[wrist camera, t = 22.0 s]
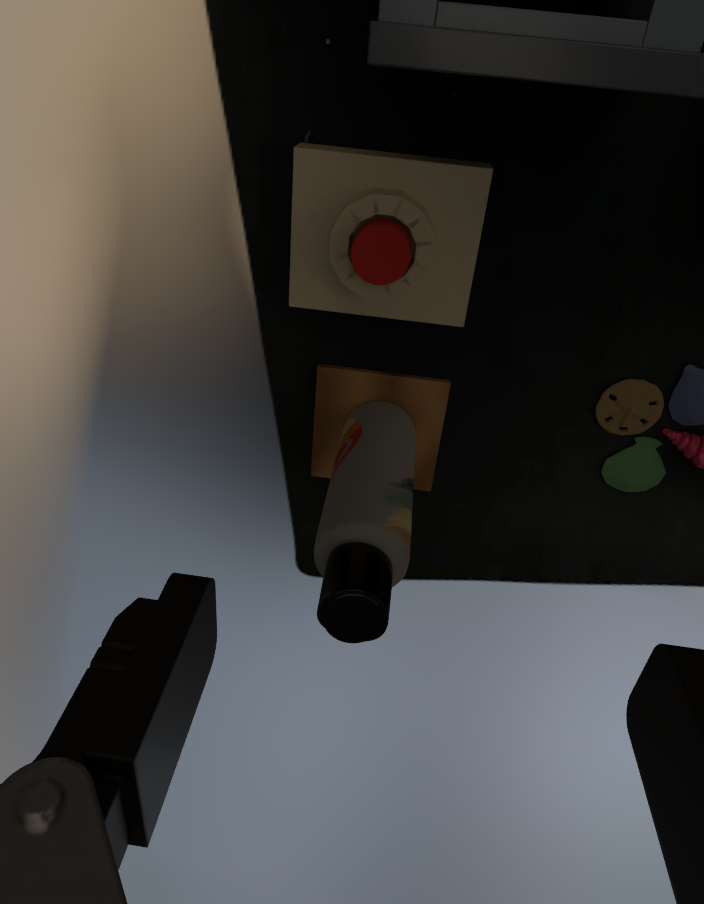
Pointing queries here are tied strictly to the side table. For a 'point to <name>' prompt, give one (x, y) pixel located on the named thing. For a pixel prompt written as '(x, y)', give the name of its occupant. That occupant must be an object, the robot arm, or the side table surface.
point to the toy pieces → (640, 464)
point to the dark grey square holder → (549, 43)
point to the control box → (395, 198)
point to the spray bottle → (366, 522)
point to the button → (381, 252)
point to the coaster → (358, 386)
